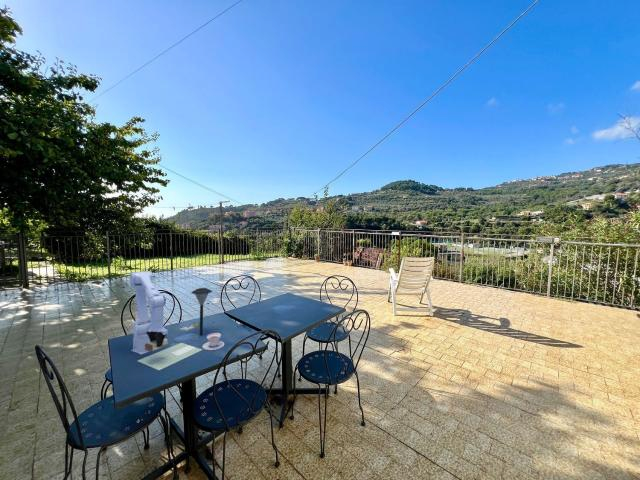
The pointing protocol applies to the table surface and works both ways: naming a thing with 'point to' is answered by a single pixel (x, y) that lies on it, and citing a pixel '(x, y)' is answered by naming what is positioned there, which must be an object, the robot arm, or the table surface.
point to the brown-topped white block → (155, 345)
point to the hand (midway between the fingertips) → (156, 345)
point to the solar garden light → (201, 303)
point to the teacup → (213, 342)
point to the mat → (169, 356)
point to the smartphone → (190, 327)
